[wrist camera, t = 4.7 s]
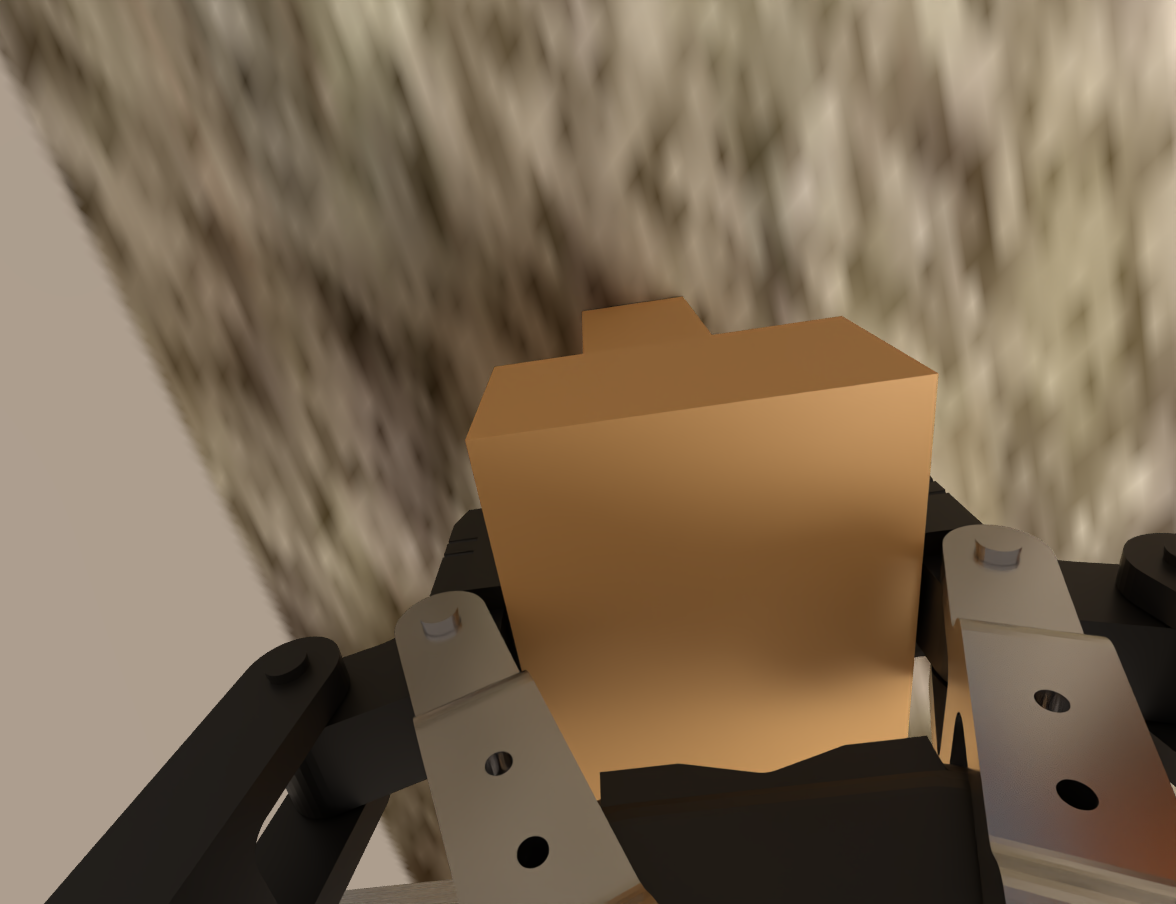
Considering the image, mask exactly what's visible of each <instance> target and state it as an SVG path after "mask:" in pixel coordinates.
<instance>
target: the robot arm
mask: <svg viewBox="0 0 1176 904" xmlns="http://www.w3.org/2000/svg"><path fill="white" fill-rule="evenodd" d="M444 556H445V557H444V558H443V559H442V562H441V565H440V568H439V571H438V574H437V577H436V580H435V583H434V586H433V588H432V591H431V594H430V597H428V598H425V599H423V600H421V601H420V602H418V603H416V604H415V605H413V606H412V607H410V608H409V609H408V610H407V611H406V612H405V613H404V614H403V615H402V616H401V617H400V619H399V620H398V622H397V624H396V627H395V632H394V633H395V638H394V639H392V640H390V641H388V642H386V643H383V644H381V645H378V646H375V647H372V648H370V649H367V650H364V651H361V652H358V653H355V654H352V655H349V656H346V657H344V658H342V655H341V653H340V650H339V648H338V646H337V644H336V643H335V642H334V641H332V640H330V639H328V638H324V637H306V638H300V639H297V640H293V641H290V642H287V643H285V644H282V645H280V646H278V647H276V648H274V649H273V650H271V651H269V652H267V653H266V654H265V655H263V656H262V657H260V658H259V659H258V660H257V661H255V662H254V663H253V664H252V665H251V666H250V667H249V668H248V669H247V670H246V671H245V673H244V674H243V675H242V676H241V677H240V678H239V680H238V681H237V682H236V683H235V684H234V685H233V687H232V688H231V689H230V690H229V691H228V692H227V693H226V695H225V696H224V697H223V698H222V699H221V700H220V702H219V703H218V704H217V705H216V706H215V707H214V708H213V710H212V711H211V712H210V713H209V714H208V715H207V716H206V718H205V719H204V720H203V721H202V722H201V724H200V725H199V726H198V727H197V728H196V729H195V730H194V731H193V733H192V734H191V735H190V736H189V737H188V738H187V740H186V741H185V742H184V743H183V744H182V745H181V746H180V748H179V749H178V750H177V751H176V752H175V753H174V755H173V756H172V757H171V758H170V759H169V760H168V761H167V763H166V764H165V765H164V766H163V767H162V768H161V769H160V771H159V772H158V773H157V774H156V775H155V777H154V778H153V779H152V780H151V781H150V782H149V783H148V784H147V786H146V787H145V788H144V789H143V790H142V791H141V793H140V794H139V795H138V796H137V797H136V798H135V800H134V801H133V802H132V803H131V804H130V805H129V807H128V808H127V809H126V810H125V811H124V812H123V813H122V814H121V816H120V817H119V818H118V819H117V820H116V821H115V823H114V824H113V825H112V826H111V827H110V828H109V829H108V831H107V832H106V833H105V834H104V835H103V836H102V838H101V839H100V840H99V841H98V842H97V843H96V844H95V846H94V847H93V848H92V849H91V850H90V851H89V852H88V854H87V855H86V856H85V857H84V858H83V860H82V861H81V862H80V863H79V864H78V865H77V866H76V867H75V869H74V870H73V871H72V872H71V873H70V874H69V876H68V877H67V878H66V879H65V880H64V881H63V883H62V884H61V885H60V886H59V887H58V888H57V889H56V891H55V892H54V893H53V894H52V895H51V896H50V898H49V899H48V900H47V901H46V902H45V903H44V904H339V903H340V900H341V898H342V896H343V894H344V892H345V890H346V888H347V886H348V884H349V882H350V880H351V878H352V875H353V873H354V871H355V869H356V867H357V865H358V863H359V861H360V859H361V857H362V855H363V853H364V851H365V848H366V847H367V844H368V842H369V840H370V838H371V836H372V834H373V832H374V830H375V828H376V826H377V824H378V822H379V820H380V818H381V815H382V813H383V811H384V809H385V807H386V805H387V803H388V800H389V798H390V794H391V793H394V792H396V791H398V790H401V789H403V788H406V787H408V786H411V785H413V784H416V783H418V782H421V781H423V780H425V779H428V783H429V787H430V791H431V795H432V799H433V803H434V807H435V811H436V815H437V819H438V823H439V827H440V831H441V835H442V839H443V843H444V847H445V851H446V855H447V859H448V863H449V867H450V871H451V875H452V879H453V883H454V887H455V891H456V895H457V899H458V903H459V904H1176V796H1175V793H1174V791H1173V788H1172V786H1171V784H1170V782H1171V783H1172V784H1173V785H1174V786H1175V787H1176V534H1172V533H1153V534H1145V535H1140V536H1137V537H1134V538H1132V539H1130V540H1128V541H1127V542H1126V544H1125V545H1124V548H1123V552H1122V556H1121V560H1120V564H1119V565H1118V564H1103V563H1087V562H1071V561H1061V560H1057V558H1056V556H1055V554H1054V552H1053V550H1052V549H1051V548H1050V547H1049V546H1048V545H1047V544H1046V543H1044V542H1043V541H1042V540H1040V539H1038V538H1037V537H1035V536H1033V535H1031V534H1028V533H1026V532H1023V531H1020V530H1017V529H1013V528H1009V527H1004V526H998V525H984V524H982V523H981V522H980V521H979V520H978V519H977V518H975V517H974V516H973V515H972V514H971V513H970V512H969V511H968V510H967V509H966V508H965V507H963V506H962V505H961V504H960V503H959V502H958V501H957V500H956V499H955V498H954V497H952V496H951V495H950V494H949V493H946V492H945V489H944V488H943V487H941V486H940V485H939V484H938V483H937V482H936V481H934V482H933V478H932V477H931V476H930V479H929V491H928V503H927V514H926V526H925V538H924V550H923V562H922V573H921V585H920V597H919V609H918V620H917V632H916V644H915V656H914V657H920V656H926V657H927V659H928V660H929V662H930V663H931V665H930V675H929V699H930V715H931V731H932V744H931V742H930V741H929V739H928V737H927V736H921V737H912V738H903V739H894V740H885V741H876V742H867V743H858V744H849V745H843V746H840V747H838V748H835V749H832V750H830V751H827V752H824V753H821V754H819V755H816V756H813V757H811V758H808V759H805V760H802V761H800V762H797V763H794V764H792V765H789V766H786V767H783V768H781V769H778V770H775V771H772V772H766V773H758V772H749V771H740V770H732V769H723V768H714V767H705V766H697V765H688V764H679V763H678V764H669V765H660V766H651V767H642V768H633V769H624V770H615V771H606V772H600V797H601V799H599V800H596V798H595V796H594V794H593V792H592V790H591V788H590V787H589V785H588V783H587V781H586V779H585V777H584V775H583V773H582V771H581V769H580V768H579V766H578V764H577V762H576V760H575V758H574V756H573V754H572V752H571V750H570V749H569V747H568V745H567V743H566V741H565V739H564V737H563V735H562V733H561V731H560V730H559V728H558V726H557V724H556V722H555V720H554V718H553V716H552V714H551V712H550V711H549V709H548V707H547V705H546V703H545V701H544V699H543V697H542V695H541V693H540V692H539V690H538V688H537V686H536V684H535V682H534V680H533V678H532V677H531V675H530V673H529V672H528V671H527V670H523V671H522V670H521V666H520V661H519V657H518V653H517V649H516V645H515V641H514V637H513V633H512V629H511V625H510V621H509V617H508V613H507V609H506V605H505V601H504V596H503V592H502V588H501V584H500V580H499V576H498V572H497V568H496V564H495V560H494V556H493V552H492V548H491V544H490V540H489V536H488V531H487V527H486V523H485V519H484V515H483V511H482V508H481V509H474V510H469V511H468V512H467V513H466V514H465V515H464V516H463V517H462V518H461V519H460V520H459V521H458V522H457V523H456V524H455V525H454V527H453V530H452V533H451V536H450V539H449V544H448V545H447V548H446V551H445V553H444ZM285 788H286V789H287V791H288V795H287V796H286V798H285V799H284V801H283V803H282V804H281V806H280V807H279V809H278V810H277V812H276V814H275V815H274V817H273V818H272V820H271V821H270V823H269V824H268V826H267V827H266V829H265V831H264V832H263V834H262V835H261V837H260V838H259V840H258V841H257V837H258V834H259V831H260V829H261V827H262V824H263V822H264V820H265V819H266V817H267V816H268V814H269V813H270V811H271V810H272V808H273V807H274V805H275V804H276V802H277V800H278V799H279V797H280V796H281V794H282V793H283V791H284V790H285ZM256 841H257V843H256Z"/></svg>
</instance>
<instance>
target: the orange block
mask: <svg viewBox="0 0 1176 904" xmlns="http://www.w3.org/2000/svg"><path fill="white" fill-rule="evenodd" d="M582 333H583V354H578V355H572V356H565V357H558V358H551V359H544V360H537V361H530V362H524V363H517V364H510V365H503V366H496V367H494V369H493V372H492V374H491V377H490V379H489V382H488V384H487V387H486V389H485V392H484V394H483V397H482V399H481V402H480V404H479V407H478V409H477V412H476V414H475V417H474V419H473V422H472V424H471V427H470V429H469V432H468V434H467V437H466V439H465V442H466V446H467V450H468V454H469V458H470V462H471V466H472V470H473V475H474V479H475V483H476V487H477V491H478V495H479V499H480V503H481V507H482V511H483V515H484V519H485V523H486V527H487V531H488V536H489V540H490V544H491V548H492V552H493V556H494V560H495V564H496V568H497V572H498V576H499V580H500V584H501V588H502V592H503V596H504V601H505V605H506V609H507V613H508V617H509V621H510V625H511V629H512V633H513V637H514V641H515V645H516V649H517V653H518V657H519V661H520V666H521V670H522V671H523V670H527V671H528V672H529V673H530V675H531V677H532V678H533V680H534V682H535V684H536V686H537V688H538V690H539V692H540V693H541V695H542V697H543V699H544V701H545V703H546V705H547V707H548V709H549V711H550V712H551V714H552V716H553V718H554V720H555V722H556V724H557V726H558V728H559V730H560V731H561V733H562V735H563V737H564V739H565V741H566V743H567V745H568V747H569V749H570V750H571V752H572V754H573V756H574V758H575V760H576V762H577V764H578V766H579V768H580V769H581V771H582V773H583V775H584V777H585V779H586V781H587V783H588V785H589V787H590V788H591V790H592V792H593V794H594V796H595V798H596V800H599V799H601V797H600V772H606V771H615V770H624V769H633V768H642V767H651V766H660V765H669V764H678V763H679V764H688V765H697V766H705V767H714V768H723V769H732V770H740V771H749V772H758V773H766V772H772V771H775V770H778V769H781V768H783V767H786V766H789V765H792V764H794V763H797V762H800V761H802V760H805V759H808V758H811V757H813V756H816V755H819V754H821V753H824V752H827V751H830V750H832V749H835V748H838V747H840V746H843V745H849V744H858V743H867V742H876V741H885V740H894V739H903V738H908V727H909V715H910V703H911V691H912V679H913V668H914V656H915V644H916V632H917V620H918V609H919V597H920V585H921V573H922V562H923V550H924V538H925V526H926V514H927V503H928V491H929V479H930V467H931V455H932V444H933V432H934V420H935V408H936V397H937V385H938V373H937V372H935V371H933V370H932V369H930V368H928V367H926V366H925V365H923V364H921V363H920V362H918V361H916V360H915V359H913V358H911V357H910V356H908V355H906V354H905V353H903V352H901V351H900V350H898V349H896V348H895V347H893V346H891V345H890V344H888V343H886V342H885V341H883V340H881V339H880V338H878V337H876V336H874V335H873V334H871V333H869V332H868V331H866V330H864V329H863V328H861V327H859V326H858V325H856V324H854V323H853V322H851V321H849V320H848V319H846V318H844V317H843V316H839V317H832V318H825V319H818V320H811V321H805V322H798V323H791V324H784V325H777V326H770V327H763V328H757V329H750V330H743V331H736V332H729V333H722V334H715V335H712V334H711V333H710V332H709V331H708V329H707V328H706V327H705V325H704V324H703V323H702V321H701V320H700V319H699V317H698V316H697V315H696V313H695V312H694V311H693V309H692V308H691V307H690V306H689V304H688V303H687V302H686V300H685V299H684V298H683V296H682V297H675V298H669V299H662V300H655V301H649V302H642V303H635V304H628V305H622V306H615V307H608V308H602V309H595V310H588V311H582Z"/></svg>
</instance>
